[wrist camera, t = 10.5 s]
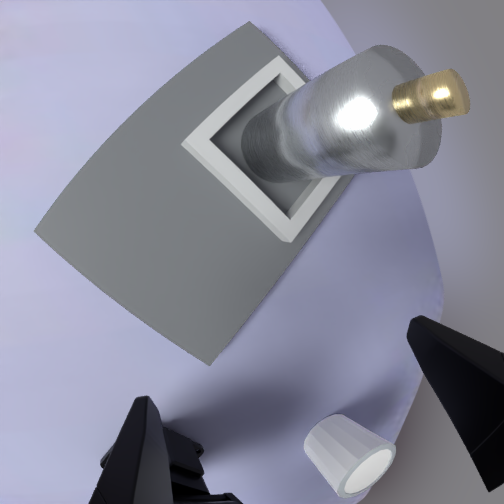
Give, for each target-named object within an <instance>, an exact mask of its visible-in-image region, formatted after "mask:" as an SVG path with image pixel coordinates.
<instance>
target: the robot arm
mask: <svg viewBox="0 0 504 504" xmlns="http://www.w3.org/2000/svg"><path fill="white" fill-rule="evenodd" d="M407 340H408V343H409V345H410V347H411V349H412V351H413V353H414V355H415V357H416V359H417V361H418V363H419V365H420V367H421V369H422V371H423V373H424V375H425V377H426V378H427V380H428V382H429V383H430V385H431V387H432V388H433V390H434V392H435V393H436V395H437V397H438V398H439V400H440V402H441V403H442V405H443V407H444V409H445V410H446V412H447V414H448V415H449V417H450V419H451V421H452V423H453V424H454V426H455V428H456V430H457V432H458V433H459V435H460V437H461V439H462V441H463V443H464V445H465V446H466V448H467V450H468V452H469V454H470V456H471V458H472V460H473V462H474V464H475V466H476V468H477V470H478V472H479V474H480V476H481V478H482V480H483V482H484V484H485V486H486V488H487V490H488V492H491V491H492V490H494V489H496V488H497V487H499V486H500V485H502V484H503V483H504V353H502V352H500V351H498V350H496V349H493V348H491V347H489V346H487V345H485V344H483V343H481V342H479V341H476V340H474V339H472V338H470V337H468V336H466V335H463V334H462V333H459V332H457V331H455V330H453V329H451V328H448V327H446V326H444V325H442V324H440V323H438V322H436V321H433V320H431V319H429V318H427V317H425V316H422V315H420V316H417V317H415V318H412V319H411V321H410V324H409V328H408V331H407ZM198 449H199V450H198ZM196 450H198V451H196ZM203 452H204V449H203V447H202V446H201V445H199V444H197V443H195V442H192V441H191V440H190V439H189V438H187V437H184V436H182V435H180V434H178V433H175V432H173V431H171V430H169V429H167V428H162V424H161V419H160V414H159V411H158V409H157V407H156V406H155V404H154V403H153V401H152V400H151V398H150V397H149V396H141V397H137V398H136V399H135V400H134V402H133V405H132V407H131V409H130V411H129V413H128V415H127V418H126V420H125V422H124V424H123V426H122V428H121V431H120V433H119V435H118V437H117V439H116V442H115V444H114V445H113V446H112V447H111V448H110V450H109V451H108V452H107V453H106V454H105V456H104V457H103V458H102V459H101V461H100V465H101V467H102V468H103V471H102V474H101V476H100V478H99V481H98V483H97V485H96V486H97V487H96V488H95V490H94V492H93V495H92V497H91V499H90V501H89V504H243V503H242V502H241V501H240V500H239V499H238V498H237V497H235V496H234V495H233V494H232V493H223V494H218V495H210V493H209V491H208V488H207V486H206V484H205V482H204V479H203V477H202V476H203V475H204V470H203V468H202V465H201V463H200V461H199V459H198V458H199V457H200V456H201V455H202V454H203Z"/></svg>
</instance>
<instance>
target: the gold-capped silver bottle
mask: <svg viewBox="0 0 504 504" xmlns="http://www.w3.org/2000/svg"><path fill="white" fill-rule="evenodd" d="M469 110H470V99H469V94H468V91H467V88H466V86H465V83H464V82H463V80H462V78H461V77H460V75H459V74H458V73H457V72H456V71H455V70H453V69H448V70H444V71H440V72H437V73H433V74H430V75H427V76H425V75H424V73H423V72H422V70H421V69H420V68H419V66H417V64H416V63H415V62H414V61H413V60H412V59H411V58H409V57H408V56H407V55H406V54H405V53H403V52H402V51H400V50H398V49H396V48H393V47H391V46H387V45H377V46H374V47H371V48H369V49H367V50H365V51H363V52H361V53H360V54H358V55H355V56H354V57H352V58H350V59H348V60H346V61H344V62H342V63H341V64H339V65H337V66H335V67H333V68H332V69H330V70H328V71H326V72H324V73H323V74H321V75H319V76H318V77H316V78H314V79H312V80H311V81H309V82H307V83H306V84H304V85H302V86H301V87H299V88H297V89H296V90H294V91H292V92H291V93H289V94H288V95H286V96H284V97H283V98H281V99H280V100H278V101H277V102H275V103H273V104H272V105H270V106H269V107H267V108H266V109H264V110H263V111H261V112H260V113H258V114H257V115H255V116H254V117H253V118H251V119H250V120H249V122H248V123H247V124H246V126H245V128H244V130H243V133H242V138H241V149H242V154H243V157H244V159H245V161H246V164H247V165H248V167H249V168H250V169H251V170H252V172H253V173H255V174H256V175H257V176H258V177H260V178H261V179H263V180H265V181H268V182H272V183H287V182H294V181H301V180H309V179H316V178H325V177H333V176H341V175H350V174H360V173H370V172H380V171H391V170H403V169H416V168H422V167H424V166H426V165H428V164H429V163H430V162H431V161H432V160H433V159H434V157H435V156H436V154H437V152H438V149H439V146H440V142H441V133H442V124H441V118H446V117H452V116H459V115H464V114H467V113H468V112H469Z"/></svg>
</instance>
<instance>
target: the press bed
mask: <svg viewBox="0 0 504 504" xmlns="http://www.w3.org/2000/svg"><path fill="white" fill-rule="evenodd" d="M309 81H310V80H309V79H308V78H307V77H306V76H305V75H304V74H303V73H302V72H301V71H300V70H299V69H298V68H297V66H296V65H295V64H294V63H293V62H292V61H291V60H290V59H289V58H288V57H287V56H286V55H285V54H284V53H283V52H282V51H281V50H280V49H279V48H278V47H277V46H276V45H275V44H274V43H273V42H272V41H271V40H270V39H269V38H268V37H266V36H265V35H264V34H263V33H262V32H261V31H260V30H259V29H258V28H257V27H256V26H255V25H253V24H252V23H251V22H250V21H249V22H247V23H246V24H244V25H243V26H241V27H240V28H238V29H237V30H235V31H234V32H232V33H231V34H229V35H228V36H226V37H225V38H223V39H222V40H221V41H219V42H218V43H216V44H215V45H214V46H212V47H211V48H210V49H208V50H207V51H205V52H204V53H203V54H201V55H200V56H199V57H198V58H196V59H195V60H194V61H192V62H191V63H190V64H189V65H187V66H186V67H185V68H184V69H182V70H181V71H180V72H179V73H177V74H176V75H175V76H174V77H173V78H172V79H170V80H169V81H168V82H167V83H166V84H164V85H163V86H162V87H161V88H160V89H159V90H158V91H156V92H155V93H154V94H153V95H152V96H151V97H150V98H149V99H148V100H147V101H145V102H144V103H143V104H142V105H141V106H140V107H139V108H138V109H137V110H136V111H135V112H134V113H133V114H132V115H131V116H130V117H129V118H128V119H127V120H126V121H125V122H124V123H123V124H122V125H121V126H120V127H119V128H118V129H117V130H116V131H115V132H114V133H113V134H112V135H111V136H110V137H109V138H108V139H107V140H106V141H105V142H104V143H103V144H102V146H101V147H100V148H99V149H98V150H97V151H96V152H95V153H94V154H93V156H92V157H91V158H90V159H89V160H88V161H87V162H86V164H85V165H84V166H83V167H82V168H81V169H80V171H79V172H78V173H77V174H76V175H75V177H74V178H73V179H72V180H71V181H70V183H69V184H68V185H67V186H66V188H65V189H64V190H63V191H62V193H61V194H60V195H59V197H58V198H57V199H56V201H55V202H54V203H53V205H52V206H51V207H50V209H49V210H48V211H47V213H46V214H45V215H44V217H43V218H42V220H41V221H40V223H39V224H38V225H37V227H36V228H35V230H34V232H35V233H36V234H37V235H38V236H39V237H40V238H41V239H42V240H44V241H45V242H46V243H47V244H48V245H49V246H50V247H51V248H52V249H53V250H54V251H56V252H57V253H58V254H59V255H60V256H61V257H62V258H63V259H65V260H66V261H67V262H68V263H69V264H70V265H72V266H73V267H74V268H75V269H76V270H77V271H79V272H80V273H81V274H82V275H83V276H85V277H86V278H87V279H88V280H89V281H91V282H92V283H93V284H94V285H96V286H97V287H98V288H99V289H101V290H102V291H103V292H104V293H106V294H107V295H108V296H109V297H111V298H112V299H113V300H115V301H116V302H117V303H119V304H120V305H121V306H122V307H124V308H125V309H126V310H128V311H129V312H130V313H132V314H133V315H135V316H136V317H137V318H139V319H140V320H141V321H143V322H144V323H146V324H147V325H148V326H150V327H151V328H153V329H154V330H155V331H157V332H158V333H160V334H161V335H163V336H164V337H166V338H167V339H168V340H170V341H171V342H173V343H174V344H176V345H177V346H179V347H180V348H182V349H183V350H185V351H186V352H188V353H190V354H191V355H193V356H194V357H196V358H197V359H199V360H200V361H202V362H204V363H205V364H207V365H208V366H210V365H211V364H212V363H213V362H214V360H215V359H216V358H217V357H218V355H219V354H220V353H221V352H222V350H223V349H224V348H225V347H226V345H227V344H228V343H229V342H230V340H231V339H232V338H233V337H234V335H235V334H236V333H237V332H238V330H239V329H240V328H241V327H242V325H243V324H244V323H245V321H246V320H247V319H248V318H249V316H250V315H251V314H252V313H253V311H254V310H255V309H256V307H257V306H258V305H259V304H260V302H261V301H262V300H263V298H264V297H265V296H266V294H267V293H268V292H269V291H270V289H271V288H272V287H273V285H274V284H275V283H276V281H277V280H278V279H279V278H280V276H281V275H282V274H283V272H284V271H285V270H286V268H287V267H288V266H289V264H290V263H291V262H292V260H293V259H294V258H295V256H296V255H297V254H298V252H299V251H300V250H301V248H302V247H303V246H304V244H305V243H306V242H307V240H308V239H309V238H310V236H311V235H312V233H313V232H314V231H315V229H316V228H317V227H318V225H319V224H320V223H321V221H322V220H323V218H324V217H325V216H326V214H327V213H328V212H329V210H330V209H331V207H332V206H333V205H334V203H335V202H336V201H337V199H338V198H339V196H340V195H341V194H342V192H343V191H344V189H345V188H346V187H347V185H348V184H349V182H350V181H351V179H352V178H353V177H354V175H355V174H350V175H341V176H333V177H325V178H316V179H309V180H301V181H294V182H287V183H272V182H268V181H265V180H263V179H261V178H260V177H258V176H257V175H256V174H255V173H253V172H252V170H251V169H250V168H249V167H248V165H247V164H246V161H245V159H244V157H243V154H242V149H241V138H242V133H243V130H244V128H245V126H246V124H247V123H248V122H249V120H250V119H251V118H253V117H254V116H255V115H257V114H258V113H260V112H261V111H263V110H264V109H266V108H267V107H269V106H270V105H272V104H273V103H275V102H277V101H278V100H280V99H281V98H283V97H284V96H286V95H288V94H289V93H291V92H292V91H294V90H296V89H297V88H299V87H301V86H302V85H304V84H306V83H307V82H309Z"/></svg>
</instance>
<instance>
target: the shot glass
mask: <svg viewBox="0 0 504 504" xmlns="http://www.w3.org/2000/svg"><path fill="white" fill-rule="evenodd" d="M395 447H396V446H395V445H394V444H392V443H391V442H389V441H387V440H385V439H383V438H382V437H380V436H378V435H376V434H375V433H373V432H371V431H369V430H368V429H366V428H364V427H363V426H361V425H359V424H357V423H356V422H354V421H352V420H351V419H349V418H347V417H346V416H344V415H343V414H334V415H331V416H328V417H326V418H324V419H323V420H321V421H320V422H319V423H317V424H316V425H315V426H314V427H313V428H312V429H311V430H310V432H309V433H308V435H307V437H306V439H305V441H304V450H305V452H306V454H307V455H308V457H309V458H310V459H311V461H312V462H313V463H314V465H315V466H316V467H317V469H318V470H319V471H320V473H321V474H322V475H323V476H324V478H325V479H326V480H327V482H328V483H329V484H330V486H331V487H332V488H333V489H334V491H335V492H336V493H337V494H338V496H339V497H341V498H350V497H354V496H356V495H358V494H360V493H362V492H364V491H366V490H367V489H368V488H370V487H371V486H372V485H373V484H375V483H376V482H377V481H378V480H379V479H380V478H381V477H382V476H383V475H384V473H385V472H386V471H387V469H388V468H389V466H390V465H391V463H392V462H393V459H394V457H395V454H396V448H395Z"/></svg>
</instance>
